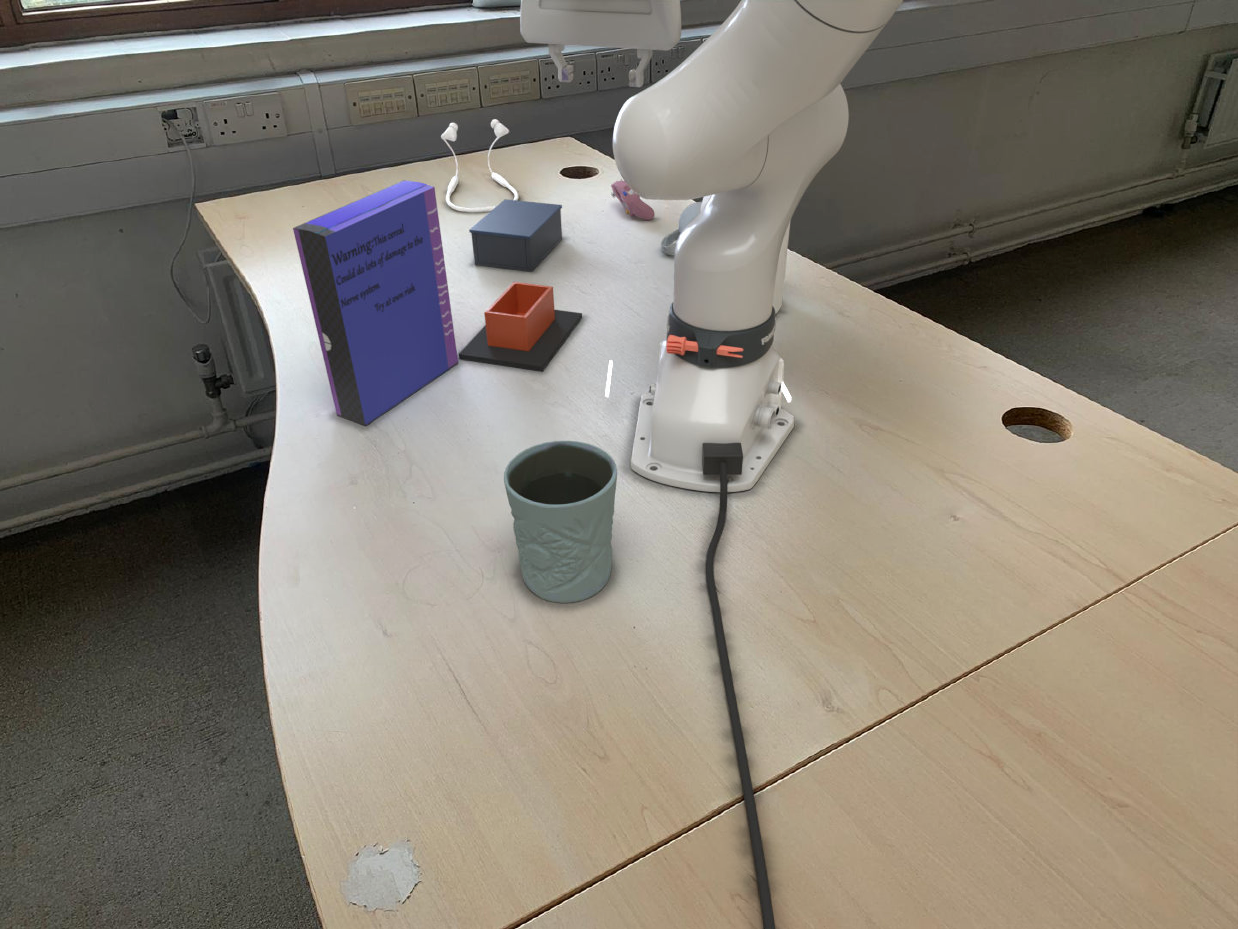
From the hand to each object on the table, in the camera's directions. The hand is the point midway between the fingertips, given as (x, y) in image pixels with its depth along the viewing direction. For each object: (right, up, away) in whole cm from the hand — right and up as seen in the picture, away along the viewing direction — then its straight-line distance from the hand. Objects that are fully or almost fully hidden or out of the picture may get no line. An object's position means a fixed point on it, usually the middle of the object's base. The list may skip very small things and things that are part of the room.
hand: (600, 83), depth 115 cm
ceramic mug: (+15, -14, +34) cm, 40 cm away
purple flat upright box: (-26, -39, 0) cm, 47 cm away
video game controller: (+5, -3, +49) cm, 49 cm away
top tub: (-11, -30, +10) cm, 34 cm away
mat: (-11, -31, +10) cm, 35 cm away
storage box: (-14, -13, +35) cm, 40 cm away
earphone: (-24, +3, +58) cm, 63 cm away
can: (+20, -26, +18) cm, 37 cm away
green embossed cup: (-3, -59, -28) cm, 66 cm away
